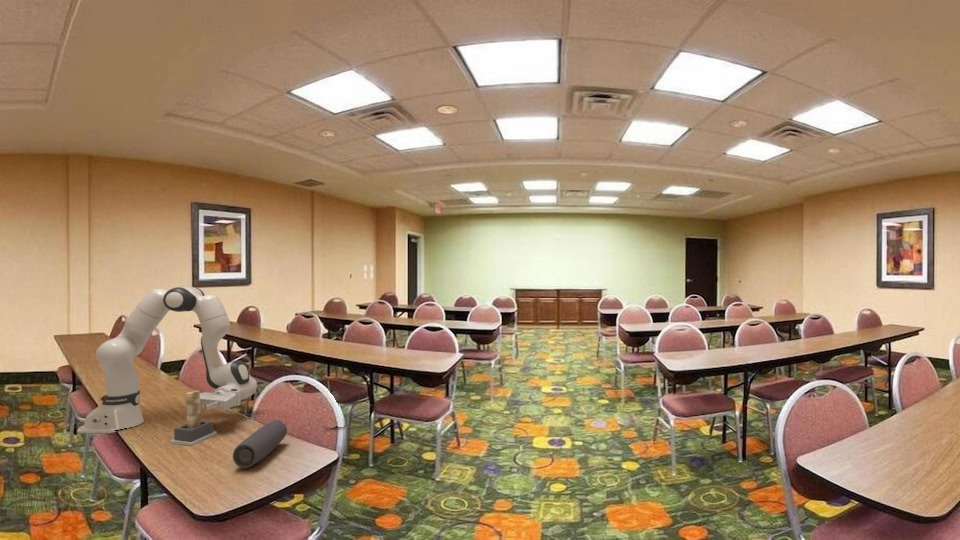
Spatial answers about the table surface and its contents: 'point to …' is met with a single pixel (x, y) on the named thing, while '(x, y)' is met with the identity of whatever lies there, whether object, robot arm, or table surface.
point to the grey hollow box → (193, 434)
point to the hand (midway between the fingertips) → (196, 406)
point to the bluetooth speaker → (259, 444)
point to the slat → (193, 409)
